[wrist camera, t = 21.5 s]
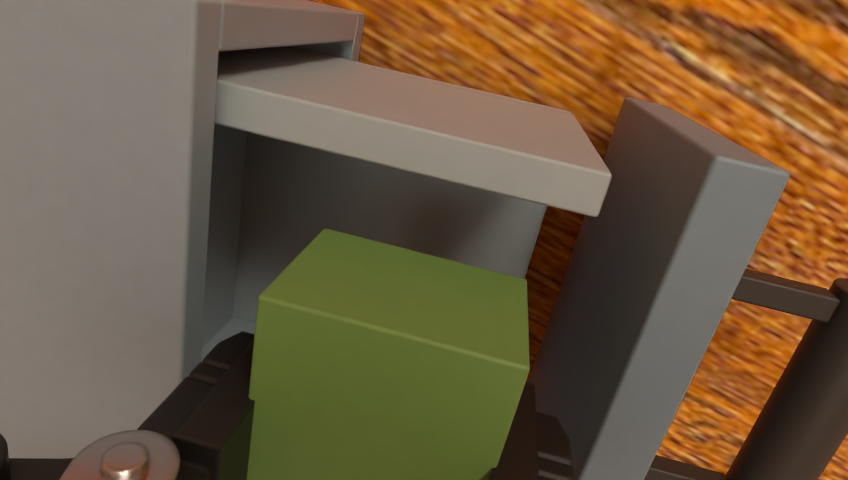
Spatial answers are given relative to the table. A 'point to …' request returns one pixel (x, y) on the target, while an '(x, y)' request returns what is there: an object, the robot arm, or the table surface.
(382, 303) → the block
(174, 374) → the cabinet
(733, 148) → the drawer
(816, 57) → the table surface
